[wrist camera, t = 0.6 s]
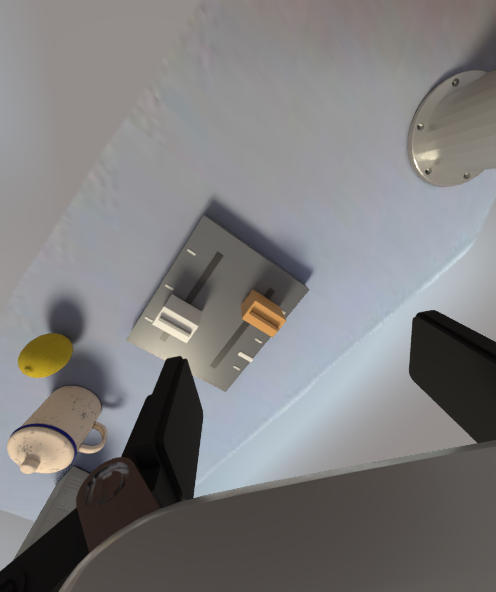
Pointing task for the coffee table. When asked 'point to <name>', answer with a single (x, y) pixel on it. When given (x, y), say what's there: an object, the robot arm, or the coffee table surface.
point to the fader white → (178, 318)
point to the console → (216, 303)
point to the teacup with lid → (57, 431)
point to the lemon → (45, 355)
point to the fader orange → (262, 313)
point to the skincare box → (56, 506)
